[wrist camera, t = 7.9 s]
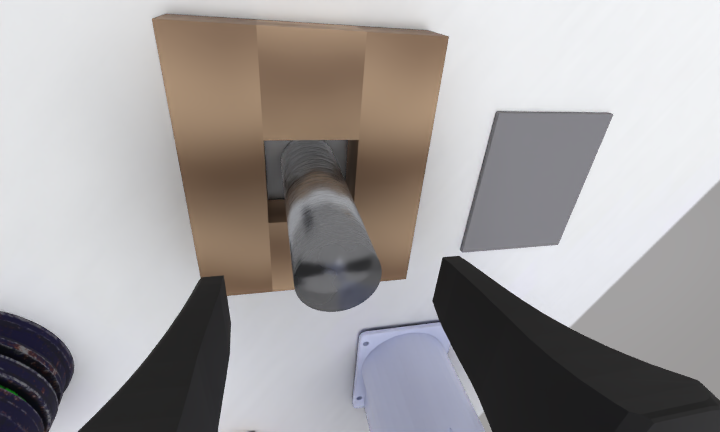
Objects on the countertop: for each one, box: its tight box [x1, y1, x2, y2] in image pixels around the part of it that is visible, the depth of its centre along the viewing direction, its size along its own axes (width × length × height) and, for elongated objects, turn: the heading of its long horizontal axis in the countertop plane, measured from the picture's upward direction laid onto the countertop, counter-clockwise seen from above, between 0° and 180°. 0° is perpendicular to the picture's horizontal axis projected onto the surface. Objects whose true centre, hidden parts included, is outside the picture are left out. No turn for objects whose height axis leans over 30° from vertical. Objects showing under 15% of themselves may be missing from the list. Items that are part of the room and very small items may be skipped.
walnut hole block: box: [152, 14, 449, 296], centre depth 20 cm, size 14×12×2 cm
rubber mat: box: [461, 112, 613, 252], centre depth 25 cm, size 10×8×1 cm
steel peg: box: [281, 140, 382, 312], centre depth 17 cm, size 3×3×10 cm
